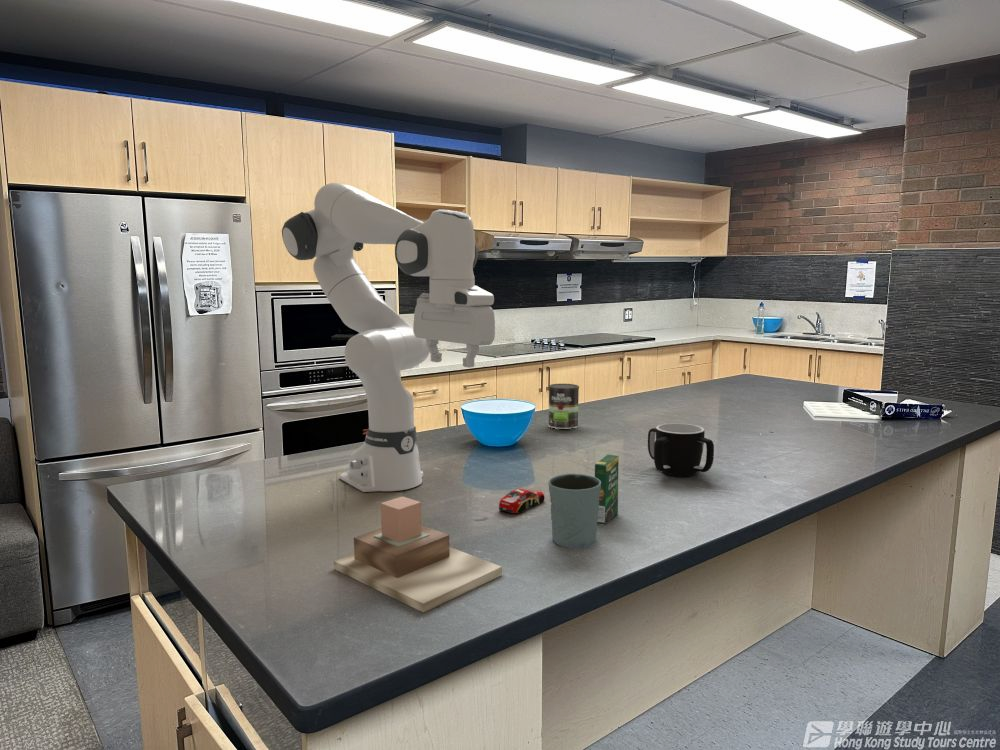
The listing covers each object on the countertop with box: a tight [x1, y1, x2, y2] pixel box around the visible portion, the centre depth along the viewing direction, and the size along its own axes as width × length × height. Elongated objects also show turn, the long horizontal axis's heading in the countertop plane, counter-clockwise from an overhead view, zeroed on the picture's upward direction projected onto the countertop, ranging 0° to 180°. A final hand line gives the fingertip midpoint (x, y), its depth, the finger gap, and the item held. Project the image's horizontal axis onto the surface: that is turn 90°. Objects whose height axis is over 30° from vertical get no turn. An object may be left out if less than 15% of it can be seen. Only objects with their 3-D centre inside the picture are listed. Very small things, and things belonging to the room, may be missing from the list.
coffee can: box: [548, 383, 580, 430], centre depth 233 cm, size 10×10×14 cm
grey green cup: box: [548, 473, 601, 549], centre depth 134 cm, size 10×10×12 cm
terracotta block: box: [380, 496, 422, 543], centre depth 122 cm, size 5×5×6 cm
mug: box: [647, 422, 715, 478], centre depth 179 cm, size 16×16×12 cm
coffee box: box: [594, 454, 620, 526], centre depth 145 cm, size 8×3×13 cm, turn 151°
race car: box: [498, 488, 546, 514], centre depth 155 cm, size 13×5×4 cm, turn 141°
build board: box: [333, 524, 503, 614], centre depth 121 cm, size 24×18×6 cm
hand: (451, 364), depth 137 cm, fingers open, 8 cm apart
